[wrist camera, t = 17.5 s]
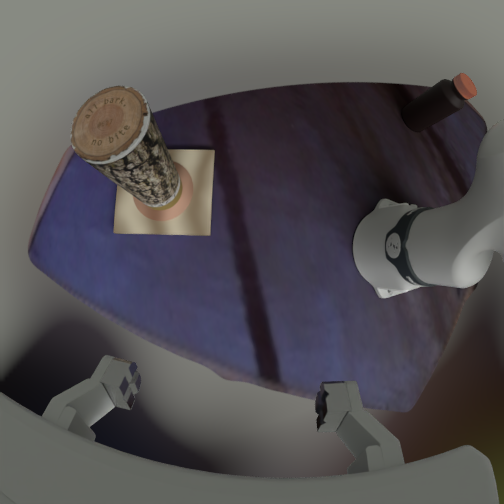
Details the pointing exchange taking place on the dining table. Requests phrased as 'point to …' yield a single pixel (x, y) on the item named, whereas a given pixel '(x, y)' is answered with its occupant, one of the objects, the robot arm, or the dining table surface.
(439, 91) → the bottle
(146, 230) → the holder board
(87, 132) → the bark print tube
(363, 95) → the dining table surface
